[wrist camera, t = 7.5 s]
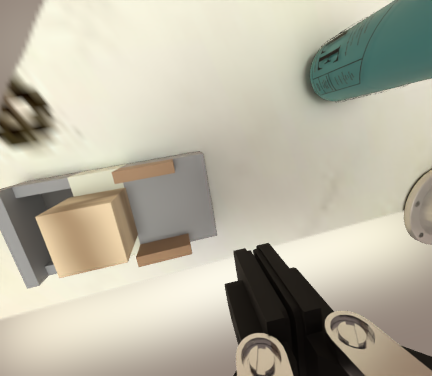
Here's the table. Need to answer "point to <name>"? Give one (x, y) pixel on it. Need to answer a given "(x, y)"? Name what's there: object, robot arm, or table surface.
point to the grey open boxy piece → (139, 201)
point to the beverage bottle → (377, 53)
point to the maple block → (89, 232)
